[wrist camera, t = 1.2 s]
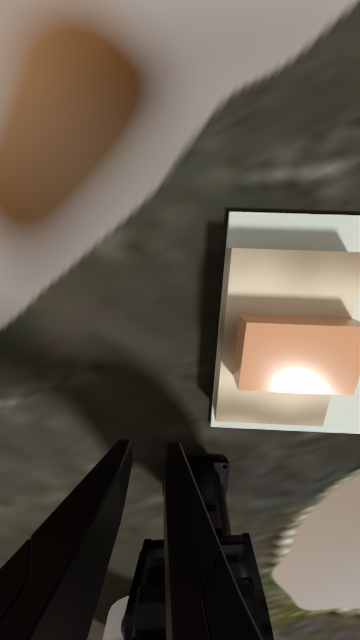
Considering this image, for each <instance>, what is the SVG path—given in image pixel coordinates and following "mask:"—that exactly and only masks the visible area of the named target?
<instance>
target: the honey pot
mask: <svg viewBox="0 0 360 640" xmlns="http://www.w3.org/2000/svg"><path fill="white" fill-rule="evenodd" d="M128 598H129V596H126V597H124V598H122V599H120V600H118V601H117V602H115V603H114V604H113V605H112V606H111V608H110V610H109V613H108V617H107V622H106V627H105V631H104V636H103V640H124V639H123V636H122V634H121V623H122V619H123V616H124V614H125V610H126V606H127V602H128Z"/></svg>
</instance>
